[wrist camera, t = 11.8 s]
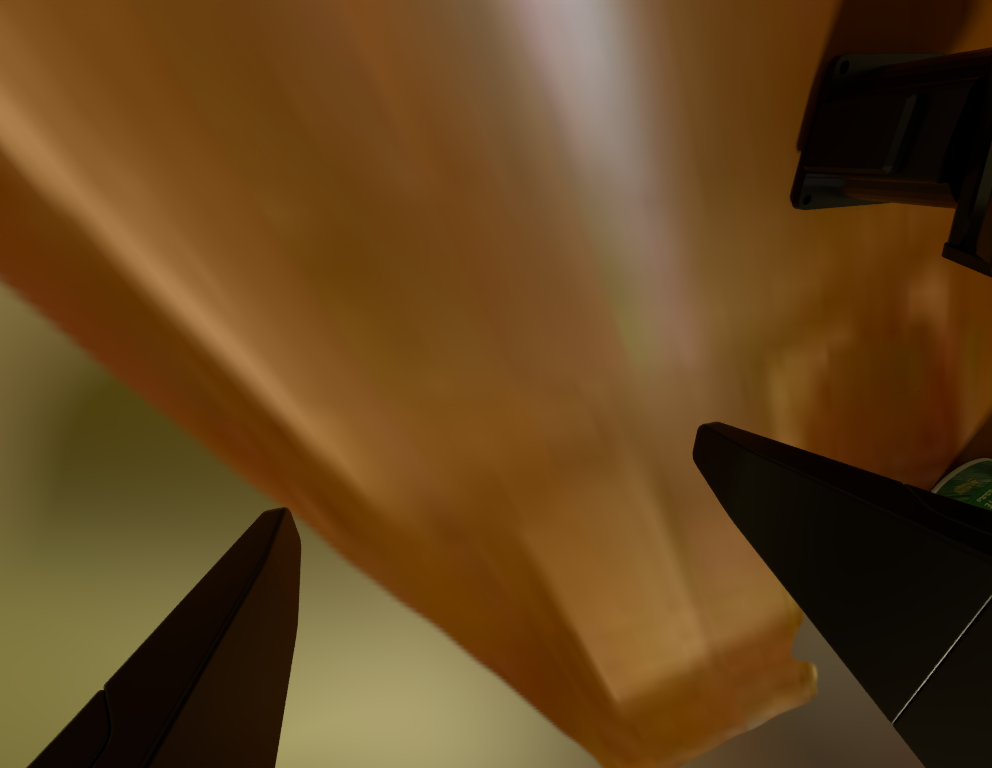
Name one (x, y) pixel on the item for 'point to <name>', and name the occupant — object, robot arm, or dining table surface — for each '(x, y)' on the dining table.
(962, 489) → the canned tomato
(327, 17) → the dining table surface
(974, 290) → the dining table surface
